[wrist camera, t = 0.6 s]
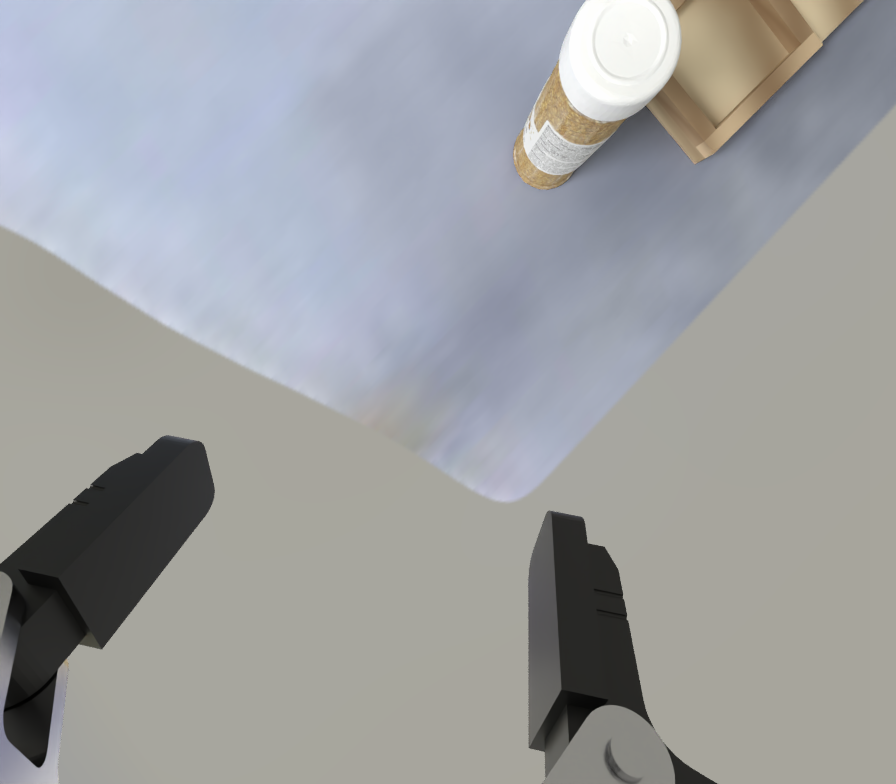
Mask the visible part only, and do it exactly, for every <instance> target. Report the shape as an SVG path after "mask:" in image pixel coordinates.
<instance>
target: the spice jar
mask: <svg viewBox="0 0 896 784" xmlns="http://www.w3.org/2000/svg"><path fill="white" fill-rule="evenodd" d="M681 43H682V37H681V26H680V22H679V18H678V15H677V13H676V10H675V8H674V6H673V4H672V3H671V1H670V0H586V1H585V2H584V4H583V5H582V6H581V8H580V9H579V11H578V13H577V15H576V17H575V18H574V20H573V22H572V24H571V26H570V28H569V30H568V32H567V35H566V37H565V39H564V41H563V44H562V47H561V52H560V56H559V60H558V62H557V64H556V66H555V68H554V70H553V72H552V74H551V76H550V77H549V79H548V80H547V82H546V84H545V85H544V87H543V89H542V91H541V93H540V95H539V97H538V99H537V101H536V103H535V105H534V107H533V109H532V111H531V113H530V115H529V117H528V119H527V121H526V124H525V127H524V128H523V129H522V131H521V132H520V134H519V135H518V137H517V139H516V142H515V145H514V151H513V158H514V164H515V167H516V169H517V172H518V174H519V175H520V177H521V178H522V179H523V181H524V182H525V183H527V184H529V185H531V186H532V187H535V188H538V189H546V190H548V189H552V188H555V187H558V186H560V185H562V184H563V183H564V182H566V181H567V180H568V179H569V178H570V177H571V175H572V174H573V172H574V170H576V169H577V168H578V167H579V166H581V165H582V164H583V163H584V162H585V161H586V160H587V159H588V158H589V157H590V156H591V155H592V154H593V153H594V152H595V151H596V150H597V149H598V148H599V147H600V146H601V145H602V144H604V143H605V142H606V141H607V140H608V139H609V138H610V137H611V136H612V135H613V134H614V133H615V131H616V130H617V129H618V128H619V126H620V125H621V124H622V123H623V122H624V121H625V120H626V119H627V118H628V117H630V116H632V115H634V114H635V113H637V112H638V111H640V110H641V109H642V108H643V107H645V106H646V105H647V104H648V103H649V102H650V101H651V100H652V99H653V98H654V97H655V96H656V95H657V94H658V92H659V91H660V90H661V89H662V88H663V87H664V86H665V84H666V83H667V82H668V80H669V79H670V77H671V76H672V74H673V72H674V70H675V68H676V65H677V62H678V59H679V55H680V50H681Z"/></svg>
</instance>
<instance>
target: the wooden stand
mask: <svg viewBox="0 0 896 784" xmlns="http://www.w3.org/2000/svg"><path fill="white" fill-rule="evenodd" d="M670 1H671V3H672V4H673V6H674V8H675V10H676V13H677V15H678V18H679V22H680V26H681V37H682V43H681V50H680V55H679V59H678V62H677V65H676V68H675V70H674V72H673V74H672V76H671V77H670V79H669V80H668V82H667V83H666V84H665V86H664V87H663V88H662V89H661V90H660V91H659V92H658V94H657V95H656V96H655V97H654V98H653V99H652V100H651V101H650V102H649V103H648V104H647V105H646V106H647V107H648V109H649V110H650V111H651V112H652V113H653V115H654V116H655V117H656V118H657V119H658V121H659V122H660V123H661V124H662V125H663V127H664V128H665V129H666V130H667V132H668V133H669V134H670V135H671V136H672V138H673V139H674V140H675V141H676V142H677V144H678V145H679V146H680V147H681V148H682V150H683V151H684V152H685V153H686V154H687V156H688V157H689V158H690V159H691V160H692V162H693V163H694V164H696V163H698V162H700V161H702V160H703V159H705V158H707V157H709V156H710V155H712V154H714V153H715V152H716V151H717V150H718V149H719V148H720V147H721V146H722V145H723V144H724V143H725V142H726V141H727V140H728V139H729V138H730V137H731V136H732V135H733V134H734V133H735V132H736V131H737V130H738V129H739V128H740V127H741V126H742V125H743V124H744V123H745V122H746V121H747V120H748V119H749V118H750V117H751V116H752V115H753V114H754V113H755V112H756V111H757V110H758V109H759V108H760V107H761V106H762V105H763V104H764V103H765V102H766V101H767V100H768V99H769V98H770V97H771V96H772V95H773V94H774V93H775V92H776V91H777V90H778V89H779V88H780V87H781V86H782V85H783V84H784V83H785V82H786V81H787V80H788V79H789V78H790V77H791V76H792V75H793V74H794V73H795V72H796V71H797V70H798V69H799V68H800V67H801V66H802V65H803V64H804V63H805V62H806V61H807V60H808V59H809V58H810V57H811V56H812V55H813V54H814V53H815V52H816V51H817V50H818V49H819V48H820V47H821V46H822V45H823V44H822V41H823V40H824V39H825V38H826V37H827V36H828V35H829V34H830V33H831V32H832V31H833V30H834V29H835V28H836V27H837V26H838V25H839V24H840V23H841V22H842V21H843V20H844V19H845V18H846V17H847V16H848V15H849V14H850V13H851V12H852V11H853V10H854V9H855V8H856V7H857V6H858V5H859V4H860V3H861V2H862V1H863V0H670Z"/></svg>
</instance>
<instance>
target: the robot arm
mask: <svg viewBox="0 0 896 784" xmlns="http://www.w3.org/2000/svg"><path fill="white" fill-rule="evenodd" d="M214 493H215V490H214V483H213V479H212V475H211V471H210V467H209V463H208V459H207V454H206V450H205V447H204V445H203V444H202V443H201V442H199V441H194V440H189V439H184V438H179V437H174V436H169V435H168V436H164V437H161V438H160V439H158V440H157V441H156V442H155V443H154V444H153V445H152V446H151V447H149V448H148V449H147V450H146V451H145V452H144V453H143V454H139V453H136V454H134V455H132V456H130V457H128V458H126V459H125V460H123V461H121V462H119V463H117V464H115V465H113V466H111V467H110V468H109V469H108V470H107V471H105V472H104V473H103V474H102V475H101V476H100V477H99V478H97V479H96V480H95V481H94V482H93V483H92V484H91V486H90V488H89V489H87V488H86V489H85V490H84V491H83V492H82V493H80V494H79V495H78V496H77V497H76V498H75V499H74V501H73V503H72V504H68V505H67V506H66V507H65V508H64V509H62V510H61V511H60V512H59V513H58V514H57V515H56V516H54V517H53V518H52V519H51V520H50V521H49V522H48V523H46V524H45V525H44V526H43V527H42V528H41V529H40V530H39V531H37V532H36V533H35V534H34V535H33V536H32V537H30V538H29V539H28V540H27V541H26V542H25V543H24V544H23V545H21V546H20V547H19V548H18V549H17V550H16V551H15V552H13V553H12V554H11V555H10V556H9V557H8V558H7V559H6V560H4V561H3V562H2V563H1V564H0V784H59V779H58V760H59V750H60V741H61V733H62V724H63V715H64V706H65V697H66V688H67V679H68V670H69V664H68V660H67V657H68V656H69V655H70V654H71V653H72V651H73V650H74V649H75V648H76V646H77V645H78V644H80V645H85V646H89V647H94V648H98V649H102V648H103V647H104V646H105V645H106V643H107V642H108V641H109V639H110V638H111V637H112V636H113V634H114V633H115V632H116V630H117V629H118V628H119V627H120V625H121V624H122V623H123V621H124V620H125V619H126V618H127V616H128V615H129V614H130V612H131V611H132V610H133V609H134V607H135V606H136V605H137V603H138V602H139V601H140V599H141V598H142V597H143V595H144V594H145V593H146V592H147V590H148V589H149V588H150V587H151V585H152V584H153V583H154V581H155V580H156V579H157V578H158V576H159V575H160V574H161V572H162V571H163V570H164V568H165V567H166V566H167V565H168V563H169V562H170V561H171V559H172V558H173V557H174V555H175V554H176V553H177V552H178V550H179V549H180V548H181V546H182V545H183V544H184V542H185V541H186V540H187V539H188V537H189V536H190V535H191V534H192V532H193V531H194V529H195V528H196V527H197V526H198V525H199V523H200V522H201V521H202V519H203V518H204V517H205V516H206V514H207V513H208V511H209V509H210V507H211V505H212V502H213V499H214ZM528 586H529V587H528V588H529V591H528V592H529V748H531V749H535V750H539V751H544V752H545V774H546V775H545V777H546V779H545V780H544V782H543V783H542V784H717V783H715V782H714V781H712V780H710V779H709V778H707V777H705V776H704V775H702V774H700V773H699V772H697V771H695V770H693V769H692V768H690V767H689V766H688V765H686V764H685V763H683V762H682V761H681V760H680V759H679V758H678V757H676V756H675V755H674V754H673V753H672V752H671V750H670V749H669V748H668V747H667V746H666V745H665V744H664V742H663V741H662V739H661V738H660V736H659V735H658V734H657V732H656V731H655V729H654V727H653V725H652V723H651V721H650V719H649V717H648V715H647V712H646V709H645V705H644V701H643V696H642V691H641V685H640V680H639V675H638V670H637V664H636V659H635V654H634V649H633V644H632V638H631V633H630V628H629V623H628V621H627V619H626V618H627V613H626V607H625V602H624V599H623V591H622V586H621V581H620V576H619V571H618V568H617V567H616V565H615V563H614V562H613V560H612V559H611V557H610V555H609V554H608V552H607V550H606V549H605V547H603V546H598V545H592V544H588V543H587V535H586V528H585V522H584V519H583V518H582V517H579V516H574V515H569V514H564V513H559V512H553V511H548V512H547V514H546V516H545V519H544V521H543V524H542V527H541V530H540V533H539V536H538V538H537V541H536V544H535V547H534V550H533V553H532V557H531V561H530V568H529V583H528Z"/></svg>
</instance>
